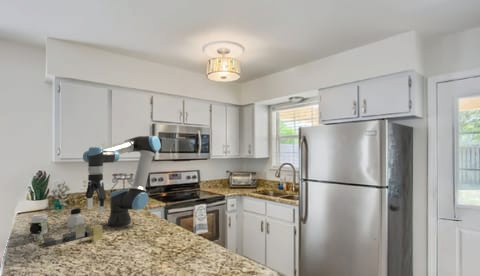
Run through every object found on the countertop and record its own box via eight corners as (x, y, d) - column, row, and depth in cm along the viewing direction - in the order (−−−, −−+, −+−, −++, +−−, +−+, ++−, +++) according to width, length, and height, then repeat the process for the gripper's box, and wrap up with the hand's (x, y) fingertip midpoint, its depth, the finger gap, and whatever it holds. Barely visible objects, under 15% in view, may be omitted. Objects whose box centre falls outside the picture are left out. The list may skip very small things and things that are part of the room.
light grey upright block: (81, 235, 166) (81, 221, 166) (84, 236, 163) (84, 223, 163) (72, 237, 162) (72, 223, 162) (75, 239, 159) (75, 224, 159)
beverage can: (39, 236, 166) (39, 216, 166) (27, 236, 167) (28, 216, 168) (50, 232, 174) (51, 213, 174) (40, 232, 175) (40, 213, 176)
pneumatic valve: (29, 243, 153) (29, 221, 154) (38, 237, 164) (38, 217, 165) (40, 242, 155) (40, 221, 155) (48, 236, 166) (49, 216, 166)
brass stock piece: (98, 238, 161) (98, 224, 162) (102, 239, 158) (102, 225, 159) (89, 240, 157) (89, 226, 158) (93, 242, 154) (93, 227, 155)
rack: (85, 233, 170) (85, 229, 170) (92, 236, 164) (92, 231, 165) (43, 243, 152) (43, 238, 153) (50, 247, 147) (50, 241, 147)
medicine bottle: (83, 225, 191) (83, 207, 192) (76, 227, 184) (76, 209, 185) (74, 224, 192) (74, 207, 192) (66, 227, 185) (67, 209, 185)
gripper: (79, 173, 164) (79, 209, 163) (99, 175, 149) (99, 214, 148) (92, 172, 170) (92, 207, 169) (112, 174, 155) (112, 212, 154)
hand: (95, 210), depth 158 cm, fingers open, 13 cm apart
